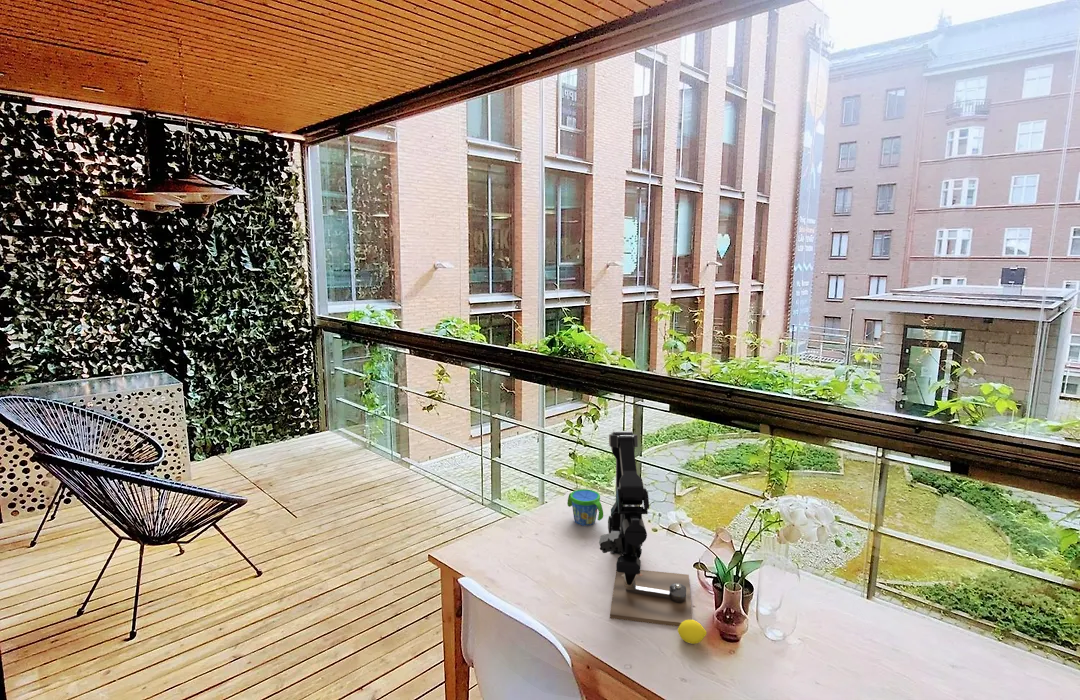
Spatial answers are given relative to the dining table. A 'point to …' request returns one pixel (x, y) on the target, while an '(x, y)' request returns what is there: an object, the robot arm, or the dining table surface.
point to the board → (651, 600)
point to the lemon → (691, 631)
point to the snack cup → (585, 506)
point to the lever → (659, 591)
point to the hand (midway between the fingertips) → (629, 580)
